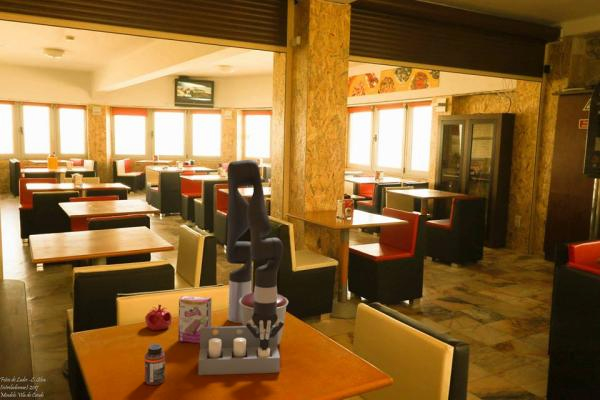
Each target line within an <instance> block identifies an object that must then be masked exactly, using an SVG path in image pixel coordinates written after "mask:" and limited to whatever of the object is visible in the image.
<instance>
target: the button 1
mask: <svg viewBox="0 0 600 400" xmlns="http://www.w3.org/2000/svg"><path fill="white" fill-rule="evenodd" d="M220 356H221V339H218V338H213V339H210V340H209V357H210V358H219V357H220Z"/></svg>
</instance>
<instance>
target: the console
mask: <svg viewBox="0 0 600 400" xmlns="http://www.w3.org/2000/svg"><path fill="white" fill-rule="evenodd" d="M253 327H254V328H255V330H256V331H257V332H258V333H260V331H259V328H258V327H257V326H253ZM274 327H275V326H272V328H270V332H271V331H272V330H273V329H274ZM264 337H265V329H264ZM213 338H218V339H221V356H220V357H219V358H210V357H209V340H210V339H213ZM236 338H244V339H246V355H245V356H244V357H235V356H234V355H233V353H234V339H236ZM277 342H278V333H277V334H276V335H275V336H274V337H273V338H272V337H271V338H269V348H270V357H258V348H259V347H260V339H259V338H255V337H254V335H253V334H252V333H251V332H250V330H249V329H248V328H247V327H246V326H243V325H237V326H236V325H235V326H234V325H233V326H211V327H201V331H200V343H199V346H200V347H199V348H200V349H199V356H198V370H197V371H198V373H197V374H198V376H206V375H207V376H210V375H214V376H215V375H237V374H238V375H239V374H240V375H241V374H243V375H246V374H268V373H269V374H270V373H272V374H273V373H280V370H281V356H280V352H279V351H280V350H279V347H278V345H277Z"/></svg>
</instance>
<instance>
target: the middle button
mask: <svg viewBox="0 0 600 400" xmlns="http://www.w3.org/2000/svg"><path fill="white" fill-rule="evenodd" d="M233 355H234V356H235V357H244V356H245V355H246V339H244V338H236V339H234V353H233Z"/></svg>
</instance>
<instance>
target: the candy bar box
mask: <svg viewBox="0 0 600 400" xmlns="http://www.w3.org/2000/svg"><path fill="white" fill-rule="evenodd" d="M212 300H213V299H212V297H207V296H206V297H205V296H202V297H201V296H193V295H182V296H181V297H180V298H179V299H178V339H177V340H178V342H180V343H181V342H182V343H190V344H192V343H193V344H200V331H201V327H212Z"/></svg>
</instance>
